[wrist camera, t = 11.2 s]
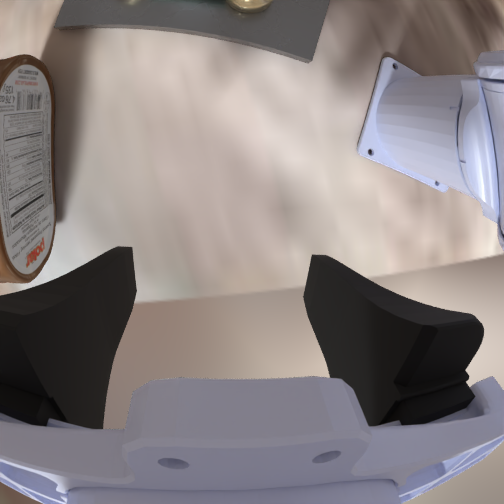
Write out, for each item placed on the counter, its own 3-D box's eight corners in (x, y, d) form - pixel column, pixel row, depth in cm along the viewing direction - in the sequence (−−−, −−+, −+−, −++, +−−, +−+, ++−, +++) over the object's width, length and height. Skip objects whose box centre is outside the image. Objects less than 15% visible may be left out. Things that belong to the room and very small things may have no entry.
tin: (35, 65, 14) (-40, 58, 6) (68, 58, 14) (-6, 41, 6) (39, 249, 20) (-16, 306, 12) (68, 251, 20) (16, 314, 13)
